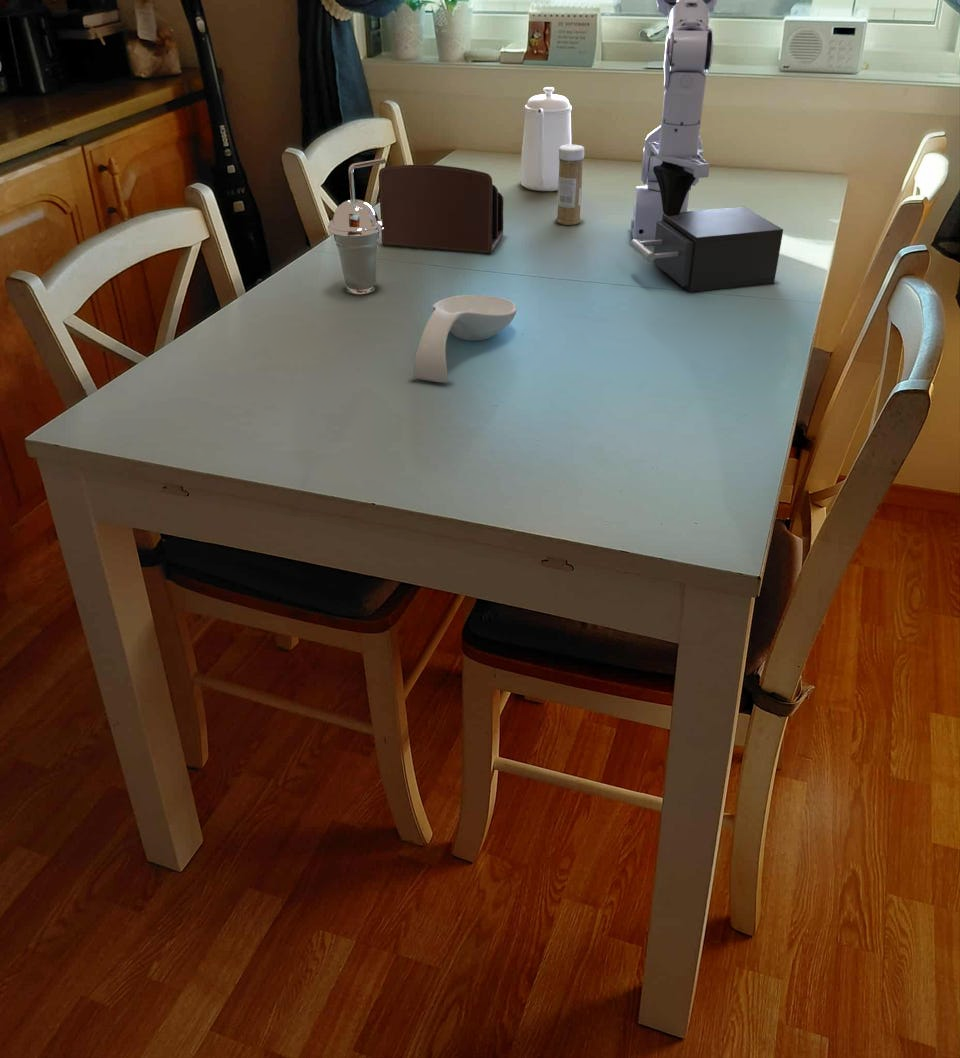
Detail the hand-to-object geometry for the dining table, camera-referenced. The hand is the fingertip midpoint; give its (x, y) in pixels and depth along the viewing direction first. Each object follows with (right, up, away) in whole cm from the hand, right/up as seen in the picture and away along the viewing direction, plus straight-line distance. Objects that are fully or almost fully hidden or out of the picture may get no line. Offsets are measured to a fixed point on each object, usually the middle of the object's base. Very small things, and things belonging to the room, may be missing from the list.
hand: (671, 214), depth 151 cm
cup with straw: (-48, -11, +3) cm, 50 cm away
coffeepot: (-16, +22, +51) cm, 58 cm away
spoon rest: (-32, -24, -16) cm, 43 cm away
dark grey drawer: (+4, -7, +6) cm, 10 cm away
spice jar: (-13, +8, +31) cm, 35 cm away
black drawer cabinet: (+9, -7, +8) cm, 14 cm away
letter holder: (-36, +2, +22) cm, 42 cm away
